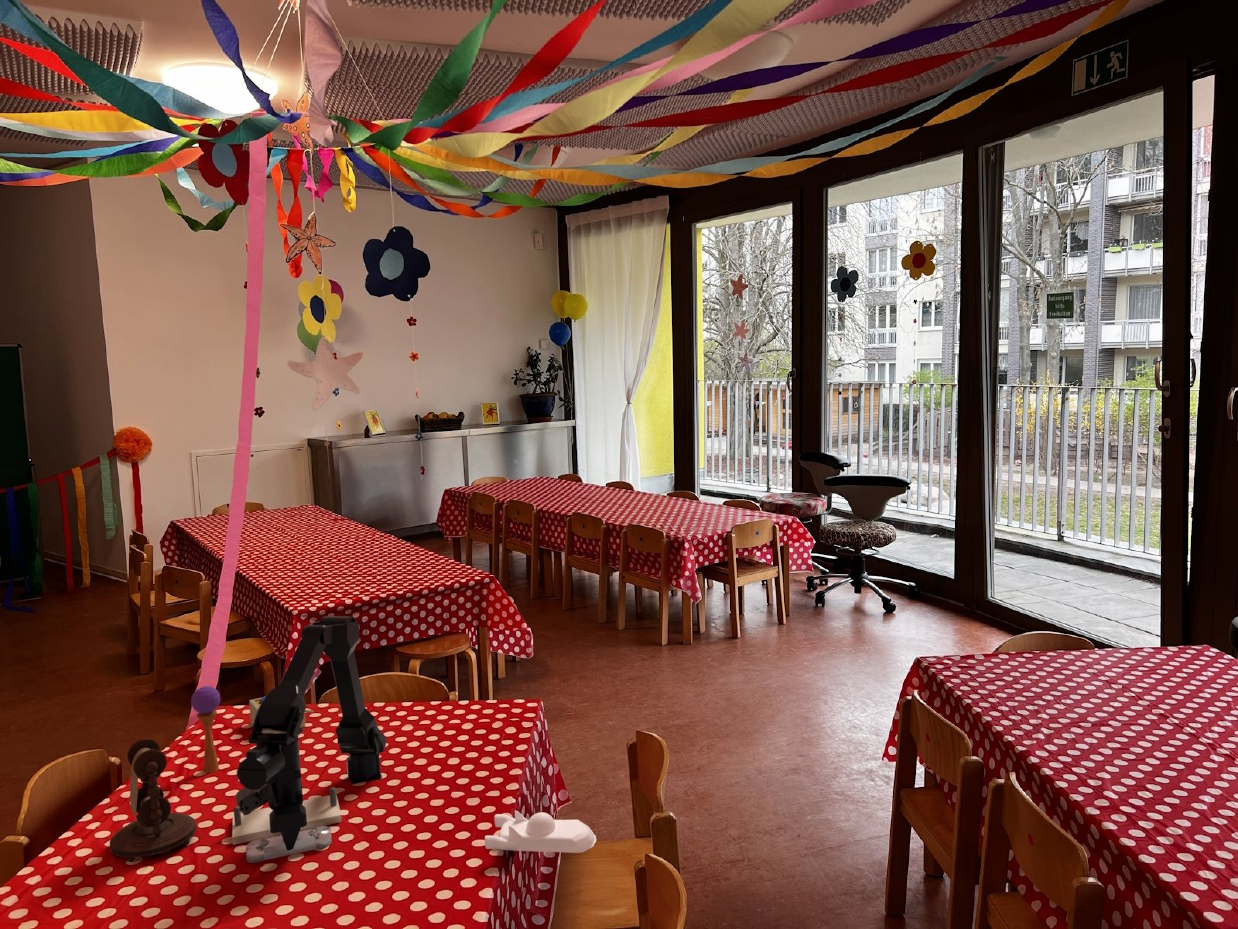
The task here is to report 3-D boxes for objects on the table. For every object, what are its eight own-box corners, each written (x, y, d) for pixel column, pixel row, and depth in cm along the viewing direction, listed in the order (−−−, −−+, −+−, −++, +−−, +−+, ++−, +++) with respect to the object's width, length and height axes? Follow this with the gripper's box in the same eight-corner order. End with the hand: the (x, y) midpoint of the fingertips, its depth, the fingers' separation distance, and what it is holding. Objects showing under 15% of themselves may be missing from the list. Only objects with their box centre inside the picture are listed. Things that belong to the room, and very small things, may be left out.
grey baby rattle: (330, 836, 173) (329, 824, 173) (332, 846, 170) (331, 834, 169) (246, 854, 168) (246, 842, 167) (246, 864, 164) (245, 852, 164)
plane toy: (593, 859, 162) (592, 829, 162) (484, 858, 164) (483, 827, 163) (599, 830, 173) (598, 801, 172) (497, 829, 174) (495, 801, 174)
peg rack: (336, 801, 188) (335, 778, 187) (341, 822, 179) (339, 798, 178) (233, 821, 180) (231, 798, 180) (232, 845, 171) (230, 820, 171)
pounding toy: (329, 721, 234) (327, 690, 233) (265, 742, 221) (263, 710, 220) (295, 706, 246) (293, 677, 245) (232, 725, 233) (230, 694, 232)
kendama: (201, 780, 200) (194, 693, 198) (194, 771, 205) (187, 687, 203) (229, 772, 204) (222, 687, 202) (221, 764, 208) (214, 680, 207)
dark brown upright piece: (105, 842, 174) (95, 743, 172) (187, 818, 183) (179, 723, 181) (117, 874, 162) (107, 768, 160) (204, 846, 171) (196, 746, 169)
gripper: (237, 754, 172) (243, 832, 174) (236, 795, 155) (243, 880, 157) (298, 744, 177) (303, 819, 178) (304, 782, 160) (310, 865, 161)
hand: (289, 845), depth 168 cm, fingers closed on grey baby rattle, 3 cm apart
